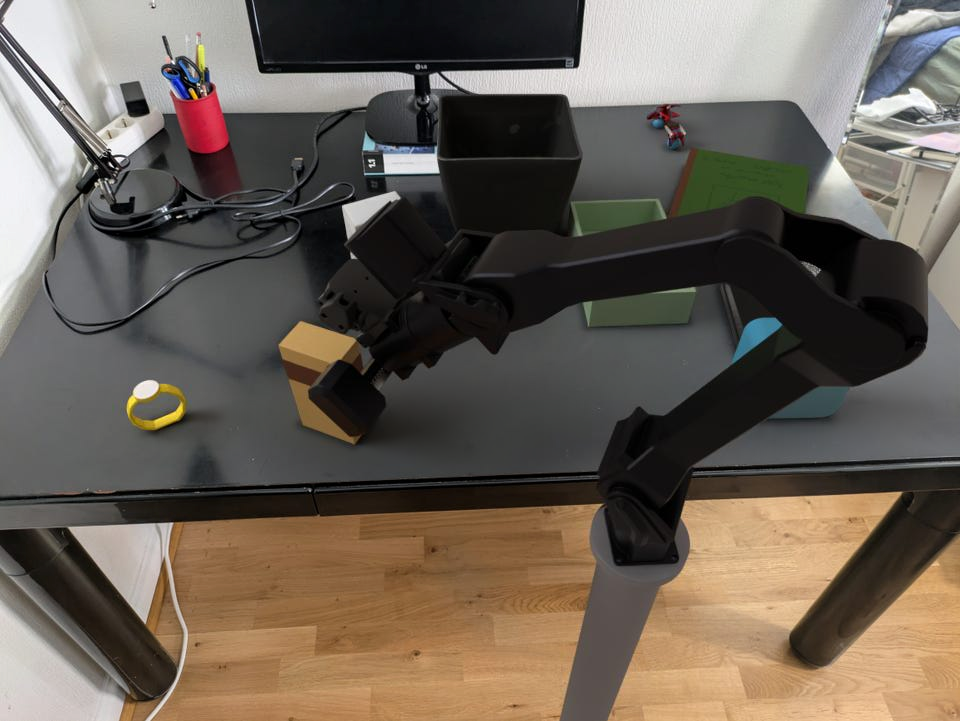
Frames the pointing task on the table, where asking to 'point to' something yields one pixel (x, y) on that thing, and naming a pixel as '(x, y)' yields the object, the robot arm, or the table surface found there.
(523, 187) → the flower pot
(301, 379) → the chocolate carton
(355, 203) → the small box
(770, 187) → the hardcover book
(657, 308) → the green open tray
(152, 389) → the watch
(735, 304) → the phone
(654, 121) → the hoverbike
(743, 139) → the table surface
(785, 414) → the blue rounded flat block
